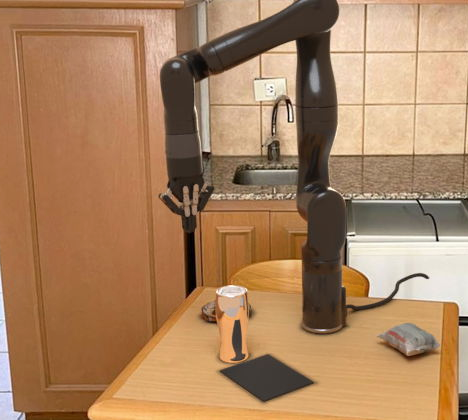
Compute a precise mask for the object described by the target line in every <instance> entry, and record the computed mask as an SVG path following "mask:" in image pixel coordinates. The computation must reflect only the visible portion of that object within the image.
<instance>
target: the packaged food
mask: <svg viewBox="0 0 468 420" xmlns="http://www.w3.org/2000/svg"><path fill="white" fill-rule="evenodd" d="M376 337H377V338H378V339H381V340H383V342H385V344H387V345H388V346H391V347H393V348H395V349H397V350H398V351H399V352H401V353H403V354H404V355H406V356H407V357H410V356H415V355H419V354H420V355H421V354H424V353H427V352H431V351H434V350H436V349H438V348H440V347H441V345H440V343H439V342H438V340H437V339H436V337H435V336H434V334H431V333H430V332H428V331H426V330H424V329H422V328H420V327H419V326H417V325H416V324H415V323H413V322H403V323H401V324H398V325H395V326H393V327H390V328H389V329H387V330H386V331H385V332H382V333H379V334H376Z"/></svg>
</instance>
